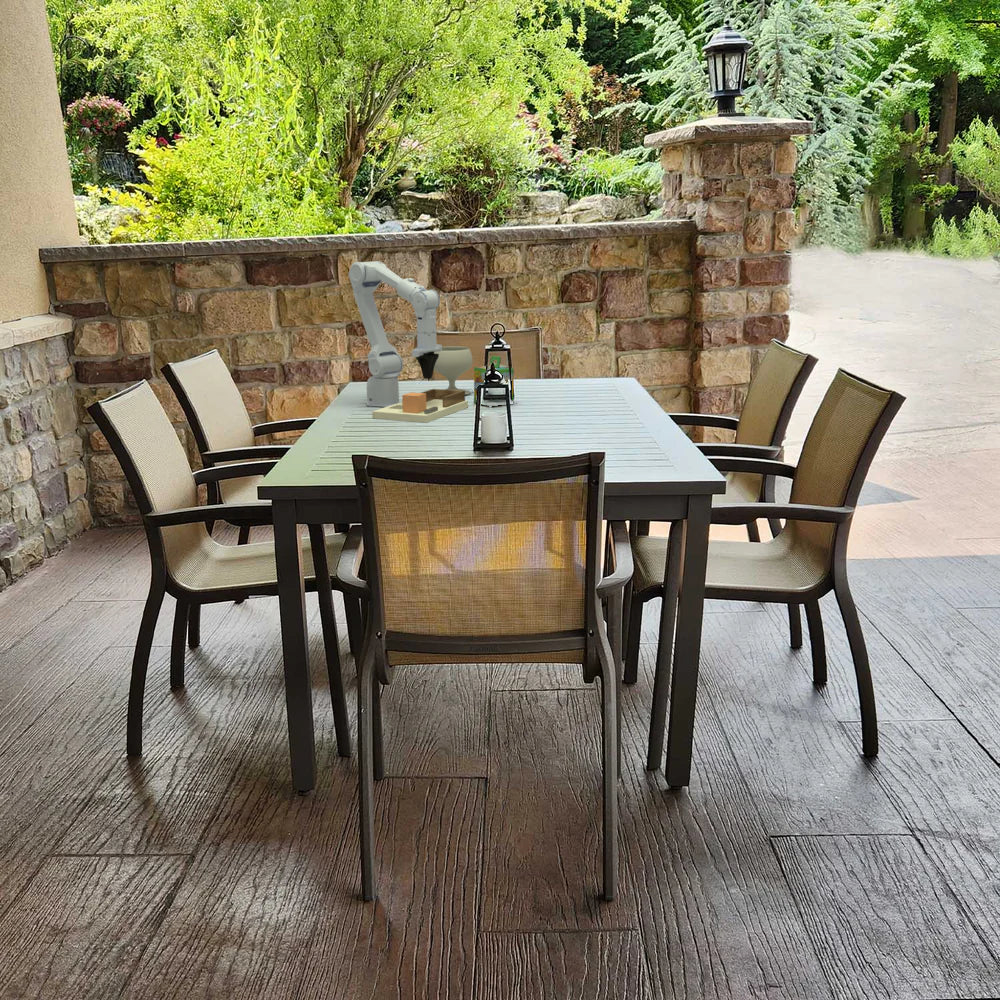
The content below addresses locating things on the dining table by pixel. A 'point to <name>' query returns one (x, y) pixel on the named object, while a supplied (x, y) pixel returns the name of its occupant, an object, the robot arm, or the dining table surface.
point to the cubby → (445, 396)
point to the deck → (397, 413)
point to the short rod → (430, 410)
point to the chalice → (453, 364)
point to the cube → (414, 402)
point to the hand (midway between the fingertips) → (427, 378)
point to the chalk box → (480, 372)
